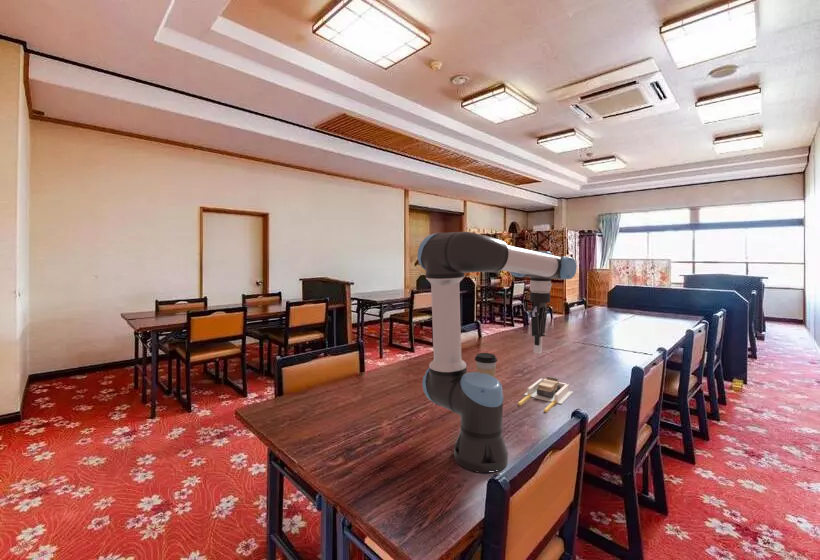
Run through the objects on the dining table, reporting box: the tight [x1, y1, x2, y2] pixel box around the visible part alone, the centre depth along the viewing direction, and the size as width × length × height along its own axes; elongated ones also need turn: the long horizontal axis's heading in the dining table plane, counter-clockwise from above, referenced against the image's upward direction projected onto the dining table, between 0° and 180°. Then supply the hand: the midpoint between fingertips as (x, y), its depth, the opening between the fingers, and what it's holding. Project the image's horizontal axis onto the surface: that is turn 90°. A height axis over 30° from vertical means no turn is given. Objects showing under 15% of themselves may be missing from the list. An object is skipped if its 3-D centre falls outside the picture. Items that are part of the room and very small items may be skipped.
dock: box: [517, 377, 574, 413], centre depth 152 cm, size 27×15×3 cm, turn 142°
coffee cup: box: [474, 352, 498, 378], centre depth 161 cm, size 9×9×15 cm
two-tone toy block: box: [537, 375, 560, 398], centre depth 156 cm, size 11×6×6 cm, turn 142°
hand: (537, 353), depth 144 cm, fingers closed
